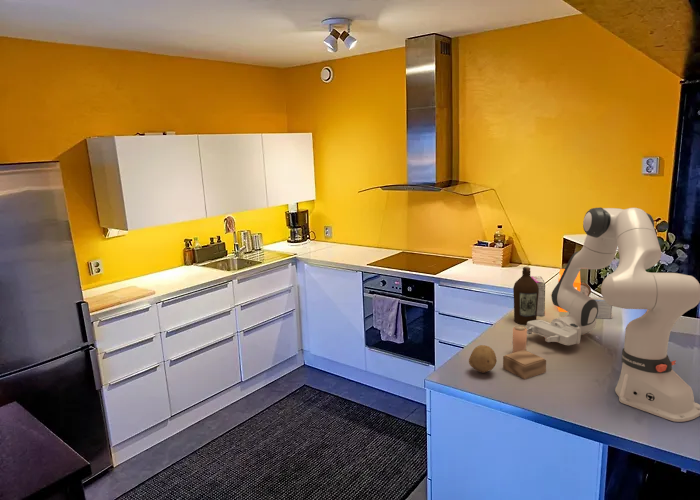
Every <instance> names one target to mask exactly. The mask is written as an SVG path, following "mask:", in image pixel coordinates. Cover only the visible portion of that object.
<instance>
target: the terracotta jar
mask: <svg viewBox="0 0 700 500" xmlns="http://www.w3.org/2000/svg"><path fill="white" fill-rule="evenodd" d="M527 338H528V334H527V327H525V325H522V324H517V325H515V326H514V327H512V349H511V350H512V352H511V353H515V352H518V351H521V350H526V351H527V347H528V346H527V343H528V342H527V341H528V339H527Z"/></svg>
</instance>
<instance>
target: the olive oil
mask: <svg viewBox="0 0 700 500" xmlns="http://www.w3.org/2000/svg"><path fill="white" fill-rule="evenodd" d="M521 273H522V274H521V277H520V278H518V279H517V280H516V281H515V283H514V284H513V288H512V289H513V290H512V291H513V321H514V323H516V324H517V325H521V326H527V322H528V321H533V320H537V317H538V316H537V304H538V293H539V288H538V285H537V283H536V282H535V281H534V280H533V279H532V278H531V276H532V275H531V267H529V266H523V267H522V271H521Z"/></svg>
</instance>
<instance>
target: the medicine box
mask: <svg viewBox="0 0 700 500" xmlns="http://www.w3.org/2000/svg"><path fill="white" fill-rule="evenodd" d="M592 298H593V299H594V300H596V302H597V304H598V315H597V317H596V319H604V320H605V319H607V320H611V319H612V313H613V306H610V305H608V304H607V303H606V302H605V300H604V299H603V297H592Z"/></svg>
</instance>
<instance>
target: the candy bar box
mask: <svg viewBox="0 0 700 500" xmlns="http://www.w3.org/2000/svg"><path fill="white" fill-rule="evenodd" d="M530 276H531V278H532V279H533V280H534V281H535V282H536V283H537V285H538V288H539V293H538V304H537V317H545V314H546V313H545V312H546V310H545V309H546V306H545V304H546V281H545V280H544V279H543V277H542V276H540V275H539V276H538V275H536V276H533V275H530Z"/></svg>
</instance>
